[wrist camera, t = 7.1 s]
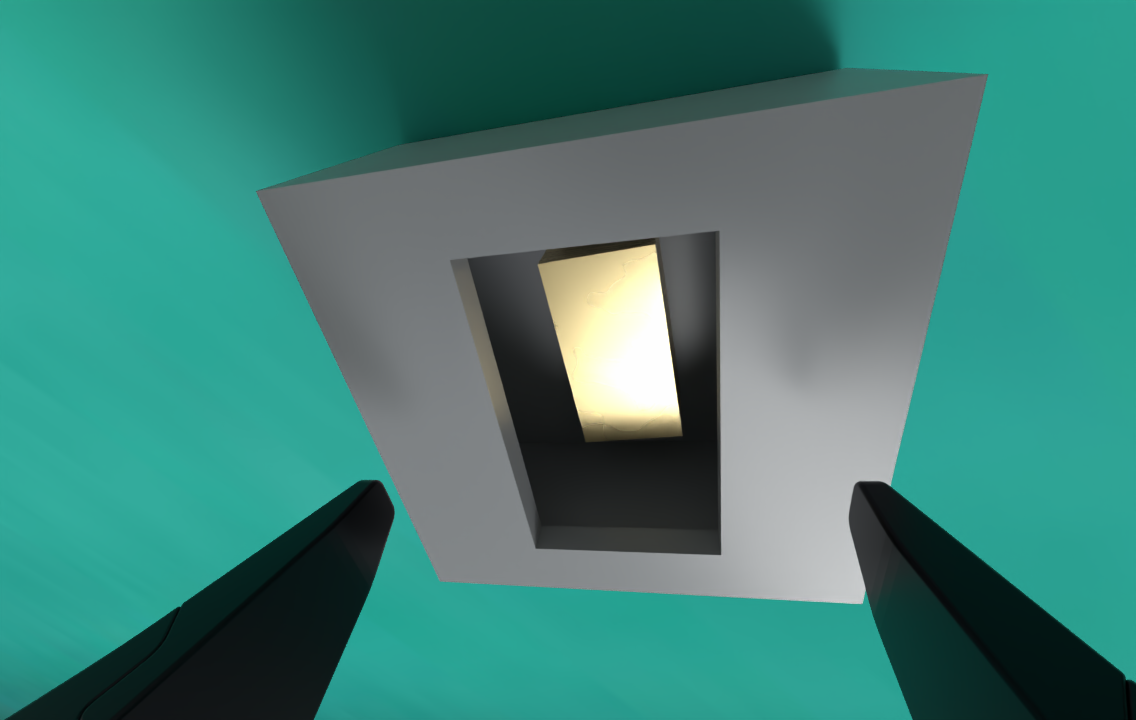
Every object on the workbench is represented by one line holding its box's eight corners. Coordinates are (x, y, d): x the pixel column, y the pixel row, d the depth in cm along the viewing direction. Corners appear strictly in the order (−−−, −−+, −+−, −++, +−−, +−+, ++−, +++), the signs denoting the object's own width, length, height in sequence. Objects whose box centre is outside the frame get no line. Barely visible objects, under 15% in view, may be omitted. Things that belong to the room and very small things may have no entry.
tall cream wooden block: (656, 216, 14) (655, 243, 12) (679, 388, 17) (682, 436, 15) (555, 234, 14) (537, 264, 12) (595, 396, 17) (585, 442, 15)
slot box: (846, 68, 12) (988, 74, 7) (805, 448, 18) (861, 603, 13) (399, 145, 14) (255, 191, 9) (495, 451, 20) (440, 581, 15)
